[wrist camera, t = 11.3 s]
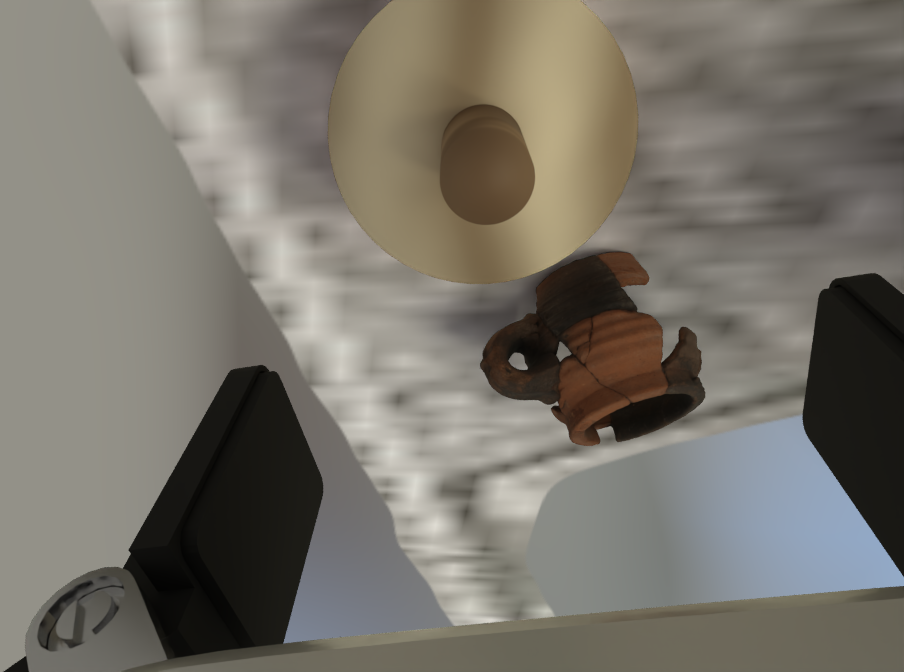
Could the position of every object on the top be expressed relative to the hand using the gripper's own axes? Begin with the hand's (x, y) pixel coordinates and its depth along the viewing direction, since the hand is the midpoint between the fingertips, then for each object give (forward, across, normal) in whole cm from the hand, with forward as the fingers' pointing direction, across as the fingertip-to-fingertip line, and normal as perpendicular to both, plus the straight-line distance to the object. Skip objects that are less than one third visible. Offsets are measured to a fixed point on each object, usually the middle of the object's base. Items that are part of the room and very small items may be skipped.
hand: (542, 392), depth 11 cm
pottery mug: (+22, -3, +13) cm, 26 cm away
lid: (+17, +1, 0) cm, 17 cm away
